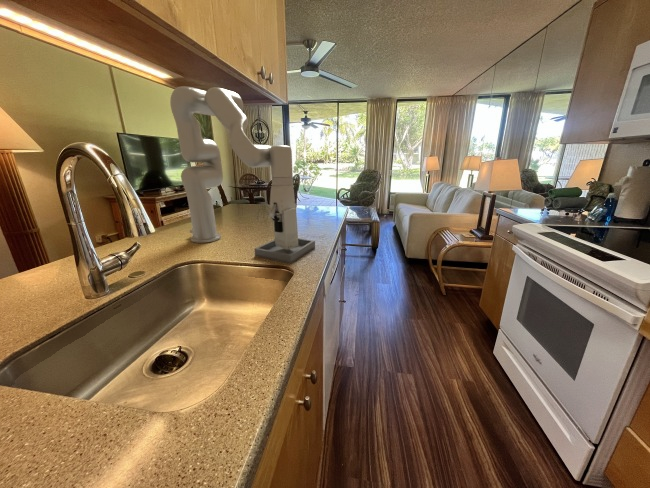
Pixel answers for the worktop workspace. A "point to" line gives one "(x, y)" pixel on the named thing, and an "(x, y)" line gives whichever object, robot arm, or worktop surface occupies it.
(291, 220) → the skincare box
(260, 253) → the tray
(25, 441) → the worktop surface
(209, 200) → the robot arm
